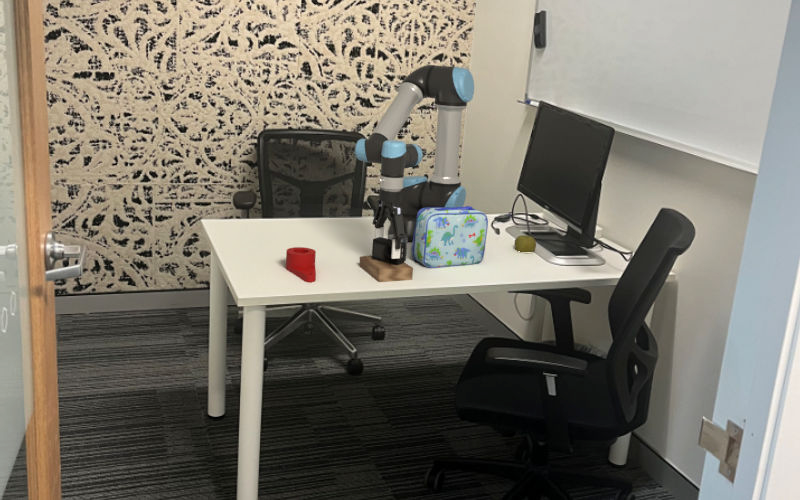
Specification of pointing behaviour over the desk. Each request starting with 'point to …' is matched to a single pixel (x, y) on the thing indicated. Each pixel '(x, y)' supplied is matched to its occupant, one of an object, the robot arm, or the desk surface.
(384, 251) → the digital camera
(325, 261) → the desk surface
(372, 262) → the walnut riser
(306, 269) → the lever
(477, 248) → the lunch box
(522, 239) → the olive rounded block
